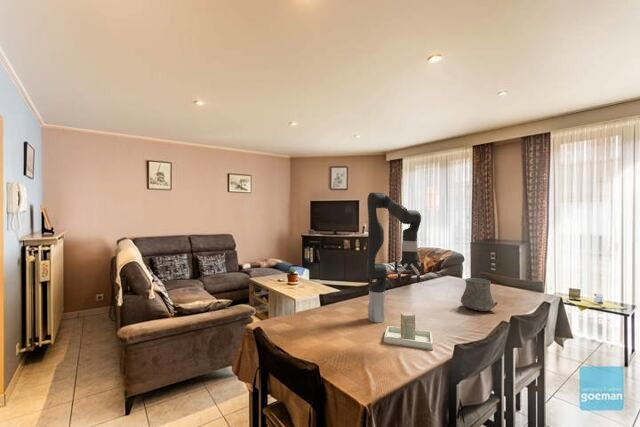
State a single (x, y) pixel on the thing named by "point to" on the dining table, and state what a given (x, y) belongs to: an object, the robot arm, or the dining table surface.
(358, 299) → the dining table surface
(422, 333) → the tray
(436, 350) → the dining table surface
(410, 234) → the robot arm
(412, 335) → the skincare box
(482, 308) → the vessel
